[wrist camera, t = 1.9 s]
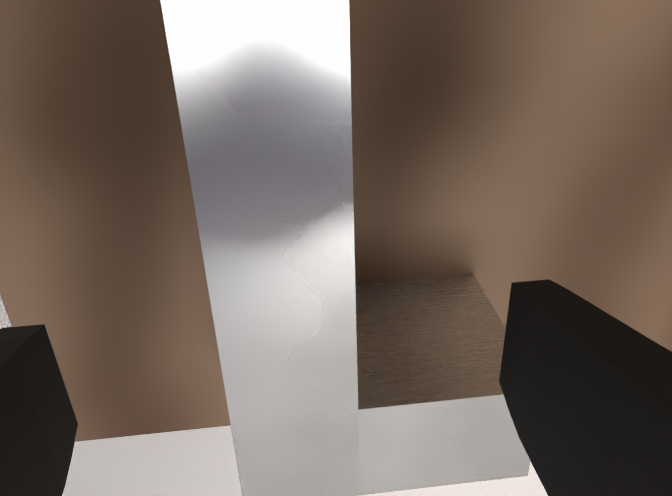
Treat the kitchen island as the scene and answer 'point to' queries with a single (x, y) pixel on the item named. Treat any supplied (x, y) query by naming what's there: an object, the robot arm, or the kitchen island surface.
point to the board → (368, 179)
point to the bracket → (321, 274)
